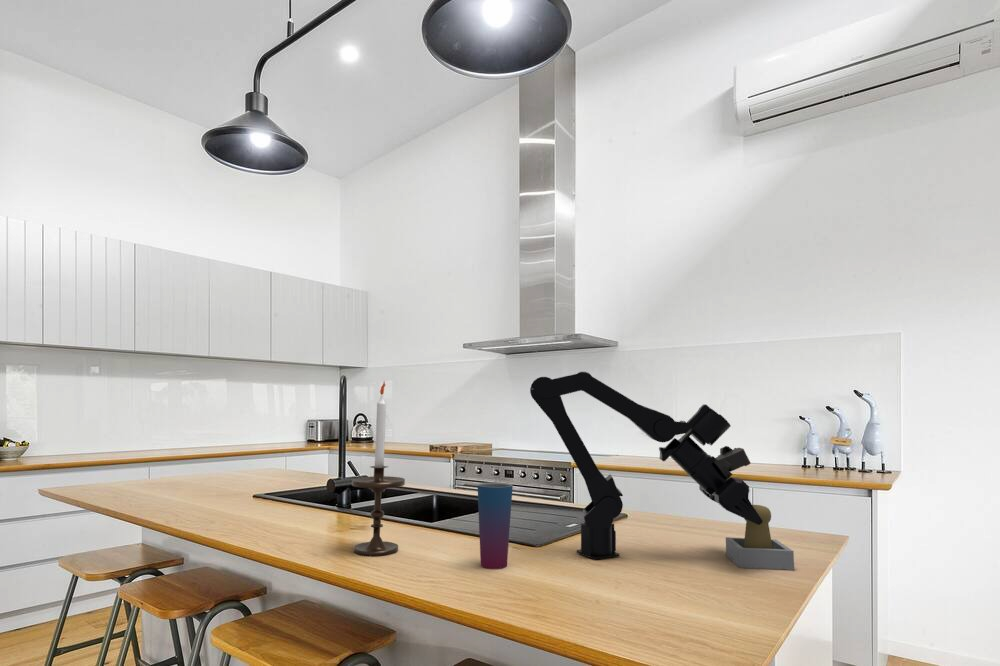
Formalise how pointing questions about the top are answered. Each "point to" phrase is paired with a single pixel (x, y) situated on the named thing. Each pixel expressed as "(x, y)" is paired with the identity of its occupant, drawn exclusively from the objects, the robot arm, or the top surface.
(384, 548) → the candlestick
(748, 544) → the olive pawn
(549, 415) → the robot arm
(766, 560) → the open box
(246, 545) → the top surface
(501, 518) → the cup
